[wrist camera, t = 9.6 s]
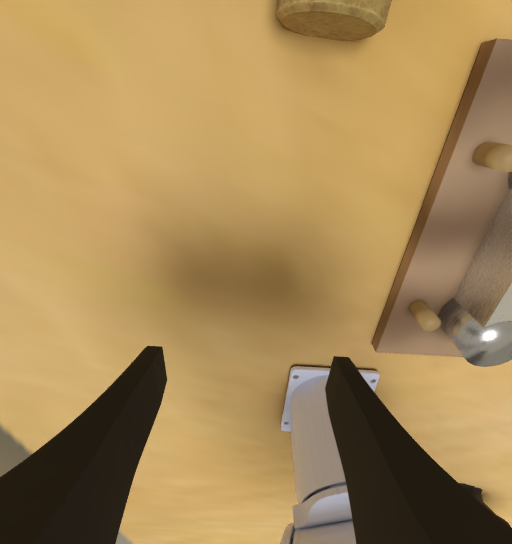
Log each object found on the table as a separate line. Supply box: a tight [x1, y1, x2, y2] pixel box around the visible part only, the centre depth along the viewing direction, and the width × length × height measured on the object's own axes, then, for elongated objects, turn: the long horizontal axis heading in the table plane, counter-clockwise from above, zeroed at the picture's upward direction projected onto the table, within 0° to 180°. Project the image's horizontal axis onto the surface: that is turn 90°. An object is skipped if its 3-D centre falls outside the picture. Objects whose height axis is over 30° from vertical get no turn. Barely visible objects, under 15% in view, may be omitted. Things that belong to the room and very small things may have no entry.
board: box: [372, 39, 512, 357], centre depth 18 cm, size 20×11×3 cm, turn 176°
